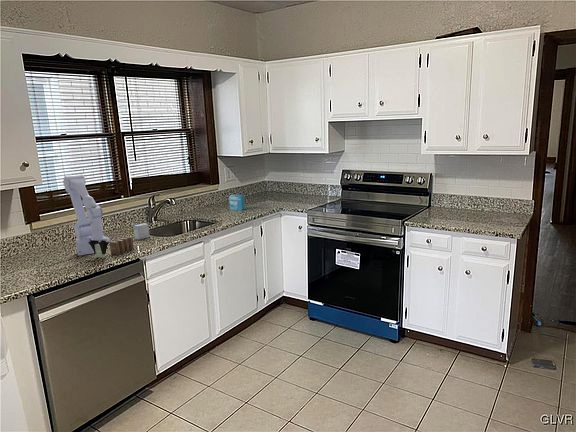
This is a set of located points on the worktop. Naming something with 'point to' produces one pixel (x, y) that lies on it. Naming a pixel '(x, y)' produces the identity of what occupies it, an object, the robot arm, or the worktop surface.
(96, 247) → the tile
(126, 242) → the tile
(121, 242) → the tile
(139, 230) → the medicine box
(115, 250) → the tile
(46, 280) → the worktop surface
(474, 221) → the worktop surface
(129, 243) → the head tile
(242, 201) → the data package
